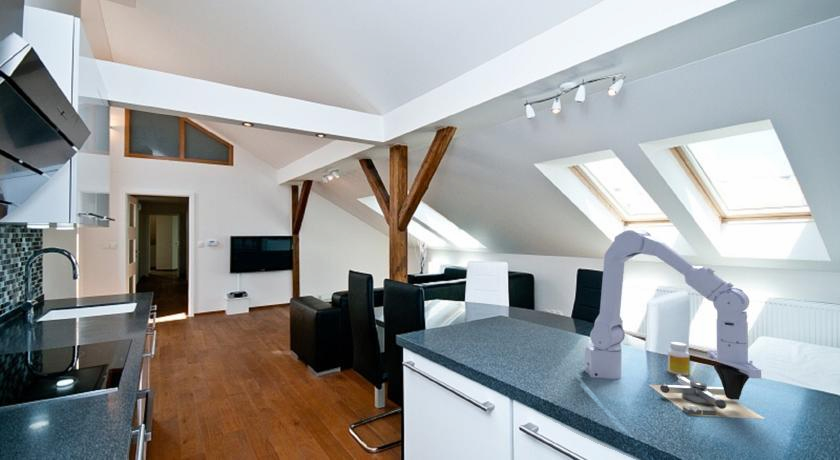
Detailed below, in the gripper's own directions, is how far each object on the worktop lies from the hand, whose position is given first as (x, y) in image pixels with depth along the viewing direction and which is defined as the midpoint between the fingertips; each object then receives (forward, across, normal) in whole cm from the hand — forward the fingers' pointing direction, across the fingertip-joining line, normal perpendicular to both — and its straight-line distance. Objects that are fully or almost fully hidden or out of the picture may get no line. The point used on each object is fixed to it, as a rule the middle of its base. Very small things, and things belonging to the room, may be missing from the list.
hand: (732, 398), depth 90 cm
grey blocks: (+2, -4, +10) cm, 10 cm away
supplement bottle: (+4, +24, -2) cm, 24 cm away
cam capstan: (+2, +5, +4) cm, 7 cm away
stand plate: (+3, +4, +4) cm, 7 cm away
